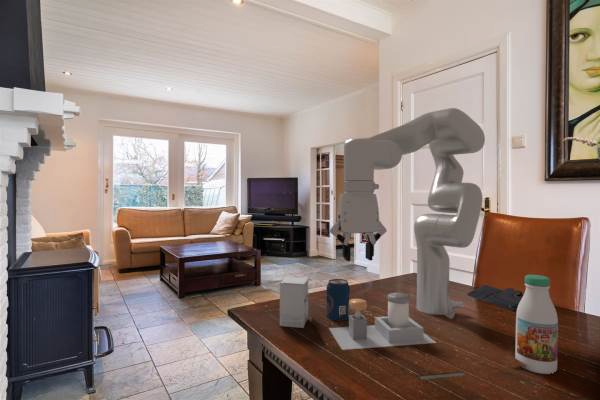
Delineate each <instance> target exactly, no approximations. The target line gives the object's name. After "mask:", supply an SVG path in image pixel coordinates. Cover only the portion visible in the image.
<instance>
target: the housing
mask: <svg viewBox="0 0 600 400" xmlns="http://www.w3.org/2000/svg"><path fill="white" fill-rule="evenodd" d="M328 330H329V331H330V333H331V335H332V336H333V338H334V339H335V341H336V343H337V344H338V346H339V347H340V349H341V350H342V351H347V350H357V349H358V350H359V349H370V348H386V347H387V348H388V347H398V346H412V345H425V344H426V345H427V344H436V343H437V342H436V341H435V340H434V339H433V338H431V337H430V336H429V335H428V334H426V333H425V331H424V327H423V326H421V325H420V324H419V323H418V322H417V321H414V319H412V318H411V317H410V316H409V327H404V328H391V327H389V326H388V315H386V316H375V317H374V325H372V324H371V325H368V319H367V318H366V316H364V315H363V314H361V319H355V314H350V315H349V319H348V326H343V327H329V328H328Z"/></svg>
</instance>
